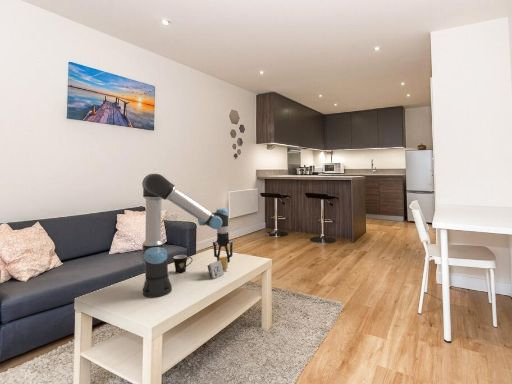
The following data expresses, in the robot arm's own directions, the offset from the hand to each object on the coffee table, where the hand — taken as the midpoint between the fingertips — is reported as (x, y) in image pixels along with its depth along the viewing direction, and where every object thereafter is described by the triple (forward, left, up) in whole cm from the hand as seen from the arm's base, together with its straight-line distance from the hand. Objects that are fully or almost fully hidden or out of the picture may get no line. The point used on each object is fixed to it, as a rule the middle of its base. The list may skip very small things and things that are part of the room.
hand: (223, 267), depth 187 cm
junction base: (0, 0, -2) cm, 2 cm away
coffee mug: (-26, +7, -3) cm, 27 cm away
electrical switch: (-6, -8, -3) cm, 11 cm away
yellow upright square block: (0, 0, 0) cm, 0 cm away
